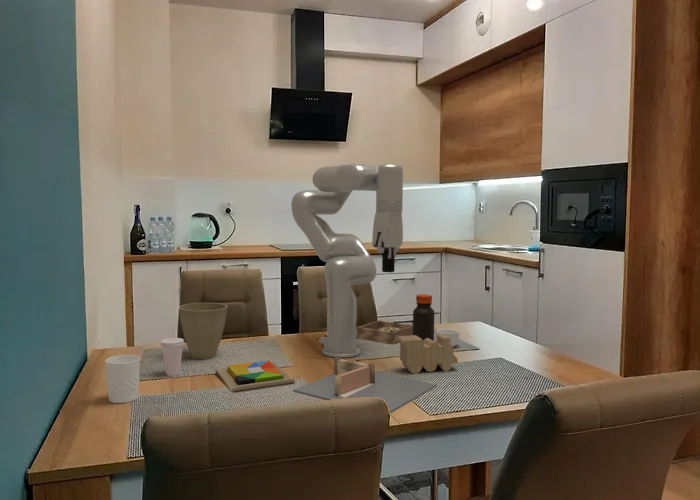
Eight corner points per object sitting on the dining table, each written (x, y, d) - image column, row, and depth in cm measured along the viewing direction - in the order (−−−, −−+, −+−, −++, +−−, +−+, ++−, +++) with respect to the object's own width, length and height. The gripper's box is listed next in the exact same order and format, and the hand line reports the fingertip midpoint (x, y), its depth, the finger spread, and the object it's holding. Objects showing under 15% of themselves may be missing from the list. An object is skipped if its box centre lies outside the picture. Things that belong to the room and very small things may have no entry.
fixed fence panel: (376, 382, 150) (376, 364, 150) (372, 384, 149) (372, 365, 148) (336, 373, 158) (336, 356, 157) (332, 375, 156) (333, 357, 156)
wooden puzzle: (232, 395, 142) (232, 381, 141) (214, 375, 158) (214, 363, 158) (296, 385, 150) (296, 372, 150) (272, 367, 167) (272, 355, 166)
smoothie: (189, 372, 159) (188, 323, 158) (175, 378, 153) (174, 328, 152) (170, 369, 161) (169, 322, 160) (156, 376, 155) (155, 326, 154)
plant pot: (204, 365, 166) (203, 312, 165) (169, 357, 174) (168, 307, 172) (237, 353, 179) (237, 305, 178) (203, 347, 186) (203, 300, 185)
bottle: (427, 354, 181) (429, 293, 179) (437, 359, 175) (438, 296, 173) (408, 355, 179) (409, 294, 177) (417, 361, 172) (419, 297, 171)
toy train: (457, 370, 163) (458, 337, 162) (402, 374, 159) (403, 340, 158) (449, 365, 169) (450, 333, 168) (396, 369, 164) (397, 335, 164)
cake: (370, 340, 202) (369, 325, 202) (386, 336, 210) (385, 322, 210) (392, 342, 196) (391, 327, 196) (408, 338, 203) (407, 323, 203)
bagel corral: (356, 338, 202) (356, 327, 202) (378, 330, 215) (379, 320, 215) (393, 344, 194) (393, 333, 193) (414, 336, 206) (414, 325, 206)
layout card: (293, 391, 143) (293, 389, 143) (350, 367, 165) (350, 366, 165) (386, 415, 127) (386, 413, 127) (436, 385, 149) (436, 384, 149)
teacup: (463, 347, 190) (463, 332, 189) (444, 350, 187) (444, 334, 186) (446, 341, 199) (447, 326, 199) (428, 343, 196) (428, 328, 195)
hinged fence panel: (365, 382, 149) (365, 365, 149) (370, 383, 148) (370, 366, 148) (333, 393, 140) (333, 376, 139) (337, 395, 139) (338, 377, 138)
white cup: (112, 393, 140) (111, 354, 139) (144, 393, 141) (143, 354, 140) (101, 404, 132) (100, 363, 132) (135, 404, 133) (134, 363, 132)
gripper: (391, 208, 167) (390, 268, 168) (363, 207, 155) (363, 273, 156) (413, 208, 163) (412, 270, 164) (387, 208, 150) (385, 275, 152)
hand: (388, 271), depth 160 cm, fingers closed
